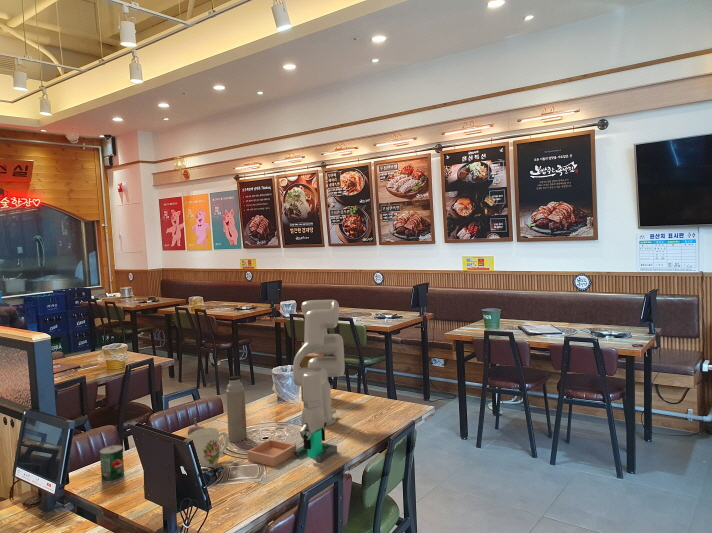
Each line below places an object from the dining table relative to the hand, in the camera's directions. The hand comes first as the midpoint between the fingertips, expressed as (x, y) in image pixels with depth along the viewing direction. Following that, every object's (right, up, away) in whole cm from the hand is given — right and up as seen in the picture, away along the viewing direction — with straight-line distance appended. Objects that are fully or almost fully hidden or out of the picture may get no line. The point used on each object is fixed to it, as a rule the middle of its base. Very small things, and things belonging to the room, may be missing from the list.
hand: (314, 444), depth 208 cm
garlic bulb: (-57, -6, +28) cm, 63 cm away
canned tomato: (-76, -8, -13) cm, 77 cm away
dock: (0, -4, 0) cm, 4 cm away
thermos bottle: (-36, -5, +21) cm, 42 cm away
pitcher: (-41, -6, -5) cm, 42 cm away
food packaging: (-6, -1, +75) cm, 75 cm away
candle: (0, -5, 0) cm, 4 cm away
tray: (-17, -5, 0) cm, 18 cm away
